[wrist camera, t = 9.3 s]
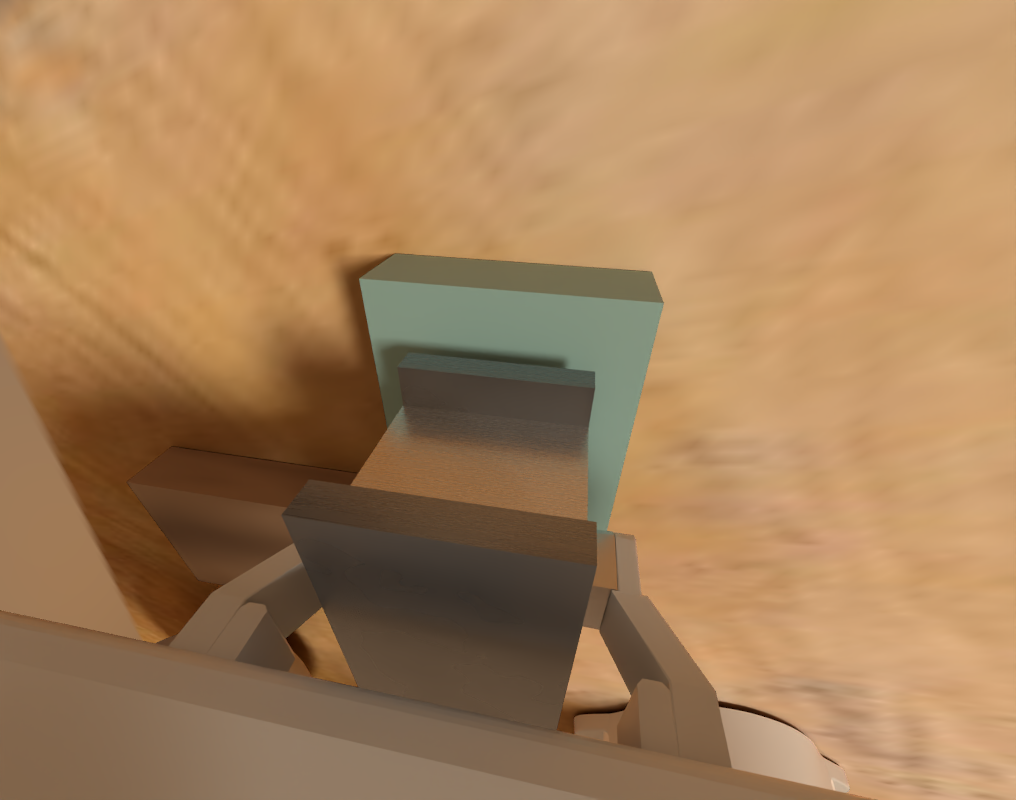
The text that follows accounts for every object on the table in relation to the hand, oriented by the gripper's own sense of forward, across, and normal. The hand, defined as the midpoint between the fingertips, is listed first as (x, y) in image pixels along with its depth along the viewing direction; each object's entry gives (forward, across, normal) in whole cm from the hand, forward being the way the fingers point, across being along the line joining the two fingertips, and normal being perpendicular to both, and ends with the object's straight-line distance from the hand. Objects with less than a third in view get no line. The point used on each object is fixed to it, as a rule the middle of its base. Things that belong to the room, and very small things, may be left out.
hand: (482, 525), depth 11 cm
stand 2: (+6, 0, 0) cm, 6 cm away
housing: (+2, 0, 0) cm, 2 cm away
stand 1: (+6, +12, +9) cm, 16 cm away
